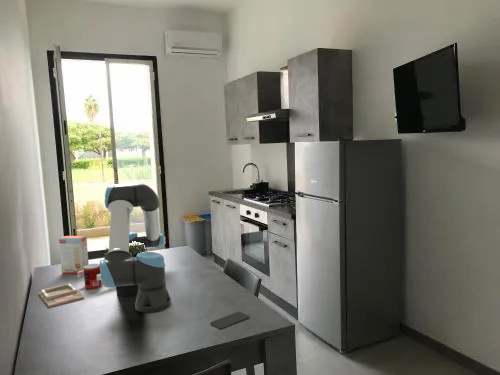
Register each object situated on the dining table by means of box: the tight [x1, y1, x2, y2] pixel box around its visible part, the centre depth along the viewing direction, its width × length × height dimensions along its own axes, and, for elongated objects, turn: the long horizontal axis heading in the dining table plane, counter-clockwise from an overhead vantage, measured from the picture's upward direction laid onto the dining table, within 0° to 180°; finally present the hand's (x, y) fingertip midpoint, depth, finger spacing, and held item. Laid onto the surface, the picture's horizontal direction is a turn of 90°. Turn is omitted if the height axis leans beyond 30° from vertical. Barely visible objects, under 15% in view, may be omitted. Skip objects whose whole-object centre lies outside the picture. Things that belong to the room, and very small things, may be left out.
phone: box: [209, 311, 250, 330], centre depth 155 cm, size 7×1×15 cm
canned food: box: [83, 263, 103, 290], centre depth 200 cm, size 8×8×11 cm
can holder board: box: [38, 283, 85, 309], centre depth 188 cm, size 22×15×2 cm
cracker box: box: [58, 235, 89, 275], centre depth 225 cm, size 14×6×21 cm, turn 77°
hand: (87, 276), depth 197 cm, fingers open, 13 cm apart
